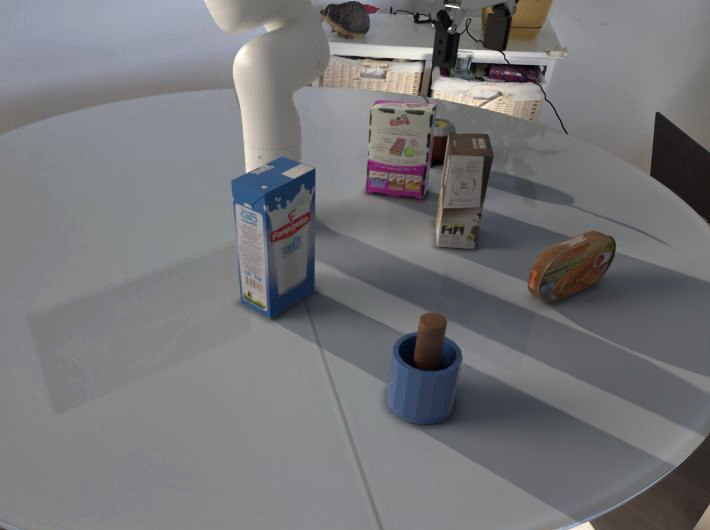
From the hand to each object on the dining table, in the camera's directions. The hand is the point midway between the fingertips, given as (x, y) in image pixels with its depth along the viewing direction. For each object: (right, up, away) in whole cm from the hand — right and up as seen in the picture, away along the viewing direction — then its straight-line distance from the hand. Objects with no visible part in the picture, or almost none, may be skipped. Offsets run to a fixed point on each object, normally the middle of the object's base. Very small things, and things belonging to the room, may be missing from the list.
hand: (469, 57), depth 79 cm
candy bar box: (+1, -6, +43) cm, 44 cm away
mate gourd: (+10, +2, +53) cm, 54 cm away
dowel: (-6, -42, -1) cm, 43 cm away
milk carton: (-23, -28, +19) cm, 41 cm away
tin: (+20, -28, +16) cm, 37 cm away
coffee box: (+8, -17, +30) cm, 35 cm away
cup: (-6, -43, 0) cm, 43 cm away
